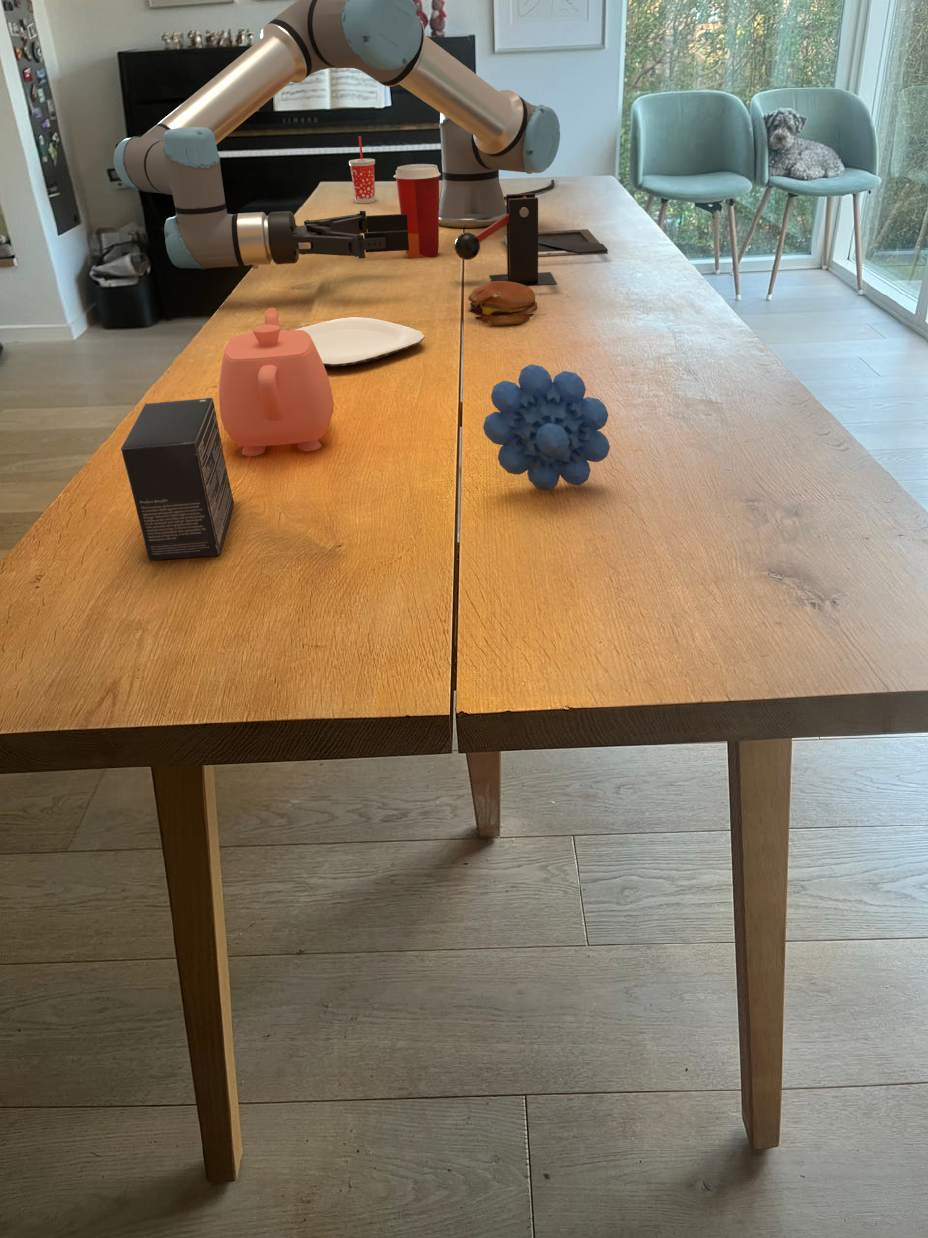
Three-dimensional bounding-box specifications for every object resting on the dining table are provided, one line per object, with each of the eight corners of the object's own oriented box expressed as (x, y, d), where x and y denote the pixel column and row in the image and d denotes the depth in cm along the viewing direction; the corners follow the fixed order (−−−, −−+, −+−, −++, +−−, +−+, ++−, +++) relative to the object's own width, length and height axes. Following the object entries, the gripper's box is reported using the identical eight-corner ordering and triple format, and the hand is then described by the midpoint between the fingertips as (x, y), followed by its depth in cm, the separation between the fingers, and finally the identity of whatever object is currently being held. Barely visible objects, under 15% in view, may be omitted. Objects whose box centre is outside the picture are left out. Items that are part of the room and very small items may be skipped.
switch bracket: (493, 296, 154) (491, 202, 147) (489, 284, 161) (487, 193, 154) (556, 293, 154) (558, 198, 147) (550, 281, 161) (551, 190, 154)
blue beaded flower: (490, 513, 89) (486, 384, 82) (482, 482, 95) (478, 359, 88) (617, 504, 89) (623, 375, 83) (602, 474, 95) (607, 351, 89)
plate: (356, 323, 144) (355, 311, 143) (441, 346, 133) (440, 333, 132) (252, 353, 133) (250, 340, 132) (335, 380, 122) (333, 367, 121)
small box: (165, 508, 92) (141, 400, 87) (235, 503, 93) (216, 395, 87) (143, 562, 83) (115, 445, 78) (221, 556, 84) (199, 439, 78)
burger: (531, 306, 148) (530, 274, 145) (541, 324, 140) (541, 290, 138) (465, 311, 147) (464, 279, 145) (472, 328, 140) (471, 295, 137)
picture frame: (607, 261, 172) (587, 237, 189) (608, 249, 171) (587, 226, 188) (516, 266, 171) (504, 241, 189) (516, 254, 170) (504, 230, 188)
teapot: (339, 467, 99) (326, 348, 93) (220, 477, 98) (198, 358, 92) (334, 400, 116) (323, 296, 110) (232, 409, 115) (214, 304, 108)
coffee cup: (446, 250, 184) (442, 162, 177) (441, 259, 178) (437, 169, 170) (402, 250, 185) (396, 163, 177) (395, 260, 178) (389, 170, 170)
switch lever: (464, 267, 153) (450, 244, 152) (462, 261, 157) (449, 239, 155) (537, 217, 150) (524, 193, 148) (534, 212, 154) (521, 189, 152)
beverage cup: (352, 200, 237) (346, 135, 229) (377, 198, 237) (372, 134, 230) (352, 204, 231) (346, 138, 224) (378, 202, 232) (373, 137, 224)
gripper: (281, 247, 164) (408, 240, 165) (264, 282, 143) (410, 275, 144) (275, 198, 160) (405, 191, 161) (256, 228, 139) (407, 220, 140)
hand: (408, 231), depth 152 cm, fingers open, 13 cm apart
